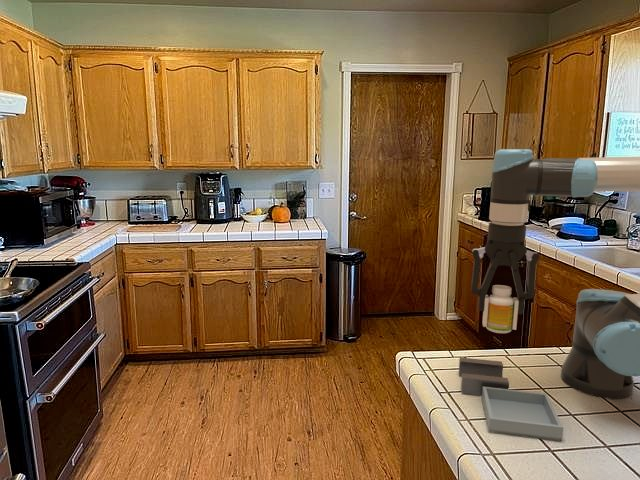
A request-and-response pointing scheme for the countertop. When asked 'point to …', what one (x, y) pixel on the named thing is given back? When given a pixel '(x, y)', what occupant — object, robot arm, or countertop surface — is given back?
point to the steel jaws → (480, 375)
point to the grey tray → (521, 414)
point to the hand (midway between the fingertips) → (498, 325)
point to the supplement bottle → (500, 309)
